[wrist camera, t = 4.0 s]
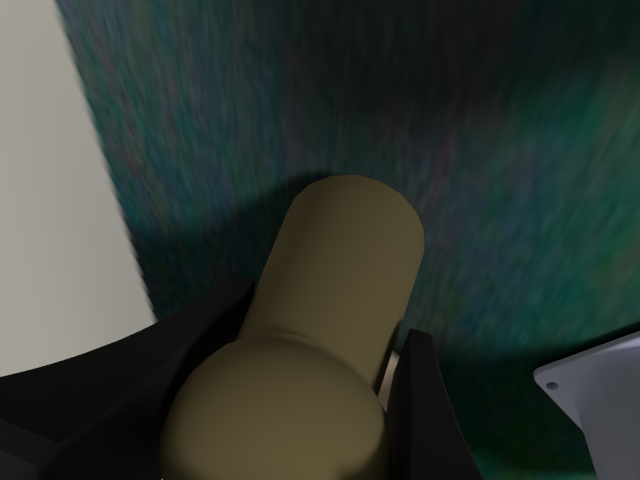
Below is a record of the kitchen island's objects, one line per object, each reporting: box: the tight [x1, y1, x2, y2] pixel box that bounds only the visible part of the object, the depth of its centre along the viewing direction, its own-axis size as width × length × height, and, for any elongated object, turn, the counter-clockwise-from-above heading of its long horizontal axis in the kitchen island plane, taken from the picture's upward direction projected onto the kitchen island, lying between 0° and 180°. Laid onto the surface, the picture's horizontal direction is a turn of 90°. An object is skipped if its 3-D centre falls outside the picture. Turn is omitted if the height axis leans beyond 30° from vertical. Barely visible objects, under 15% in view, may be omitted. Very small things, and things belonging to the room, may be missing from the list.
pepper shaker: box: [159, 174, 424, 480], centre depth 12 cm, size 6×6×11 cm
